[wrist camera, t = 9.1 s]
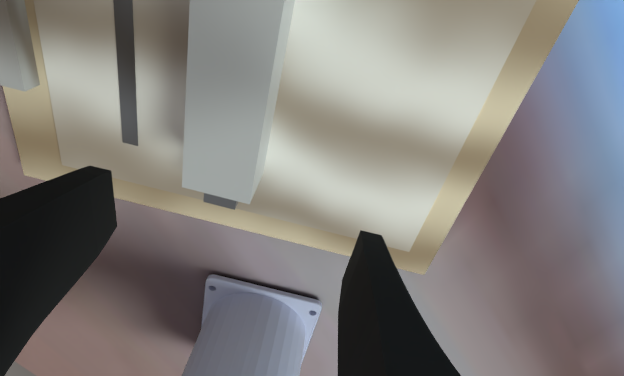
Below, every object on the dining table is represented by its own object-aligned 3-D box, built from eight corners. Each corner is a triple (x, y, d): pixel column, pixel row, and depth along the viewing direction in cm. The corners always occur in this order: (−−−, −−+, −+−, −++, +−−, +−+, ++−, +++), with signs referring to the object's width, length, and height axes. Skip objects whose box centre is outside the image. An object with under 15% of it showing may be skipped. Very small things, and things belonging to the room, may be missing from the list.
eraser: (259, 191, 21) (246, 223, 18) (201, 176, 21) (180, 207, 18) (322, -148, 13) (312, -167, 10) (229, -174, 13) (198, -200, 10)
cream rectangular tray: (422, 265, 23) (426, 287, 22) (34, 168, 23) (10, 184, 21) (617, -92, 13) (649, -95, 12) (-67, -282, 13) (-124, -311, 11)
